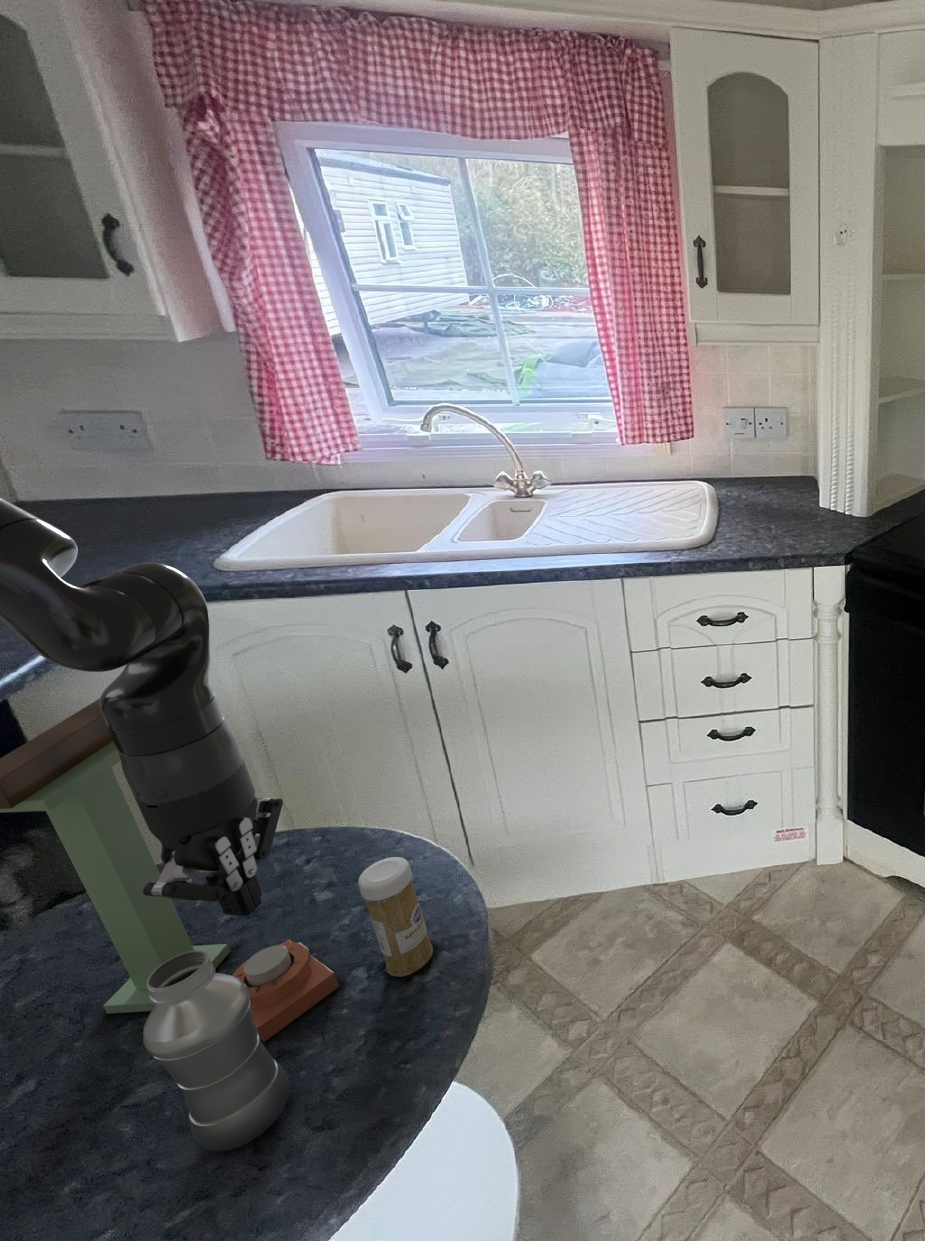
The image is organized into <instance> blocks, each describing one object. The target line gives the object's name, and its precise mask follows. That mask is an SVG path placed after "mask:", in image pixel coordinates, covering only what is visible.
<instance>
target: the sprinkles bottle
mask: <svg viewBox="0 0 925 1241" xmlns="http://www.w3.org/2000/svg"><path fill="white" fill-rule="evenodd" d="M412 878H413V873H412V869H411V866H410V862H409V861H408V860H407V859H406V858H404V857H400V856H391V857H386V858H383V859H381V860H377V861H376V862H374V863H372V864H371V865H369V866H368V867H367V868H365V869H364V870H363V872H362V873H361V874H360V876H359V877H358V879H357V880H358V881H357V884H358V889H359V892H360V895H361V897H362V898H363V900H364V901H365V904H366V907H367V910H368V913H369V919H370V922H371V925H372V928H373V930H374V934H375V937H376V939H377V940H376V941H377V943H378V946H379V949H380V952H381V953H382V955H383V958H384V962H385V966H386V967H385V968H386V972H387V973H388V975H390V976H392V977H398V978H399V977H401V978H402V977H406V976H410V975H411V974H414V973H415V972H418V971H420V970H421V969H422V968H424V966H425V965H426V964H427V963H428V962H429V961H430V960H431V958H432V957H433V954H434V948H433V945H432V943H431V941H430V937H429V935H428V931H427V930H428V929H427V925H426V921H425V918H424V915H423V911H422V909H421V906H420V903H419V899H418V896H417V893H416V890H415V887H414V884H413V880H412Z"/></svg>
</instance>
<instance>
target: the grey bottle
mask: <svg viewBox="0 0 925 1241" xmlns="http://www.w3.org/2000/svg"><path fill="white" fill-rule="evenodd" d="M147 989H148V991H149V993H150V1000H151V1002H152V1004H153V1005H155V1006H154V1008H153V1009H152V1011H150V1012H149V1015H148V1017H147V1018H146V1020H145V1022H144V1025H143V1032H142V1033H143V1035H142V1043H143V1046H144V1048H145V1049H146V1051H147V1052H148V1053H149V1055H151V1056H152V1057H153V1058H154V1059H155V1060H156V1061H157V1062H158V1063H159V1064H160V1065H161V1066H162V1067H164V1069H165V1070H166V1071H168V1073H169V1075H170V1076H171V1077H172V1079H173V1081H174V1082H175V1083H176V1084H177V1086H178V1088H179V1089H180V1090H181V1093H182V1095H183V1098H184V1101H185V1104H186V1107H187V1110H188V1117H189V1118H188V1119H189V1126H190V1130H191V1134H192V1137H193V1139H194V1140H195V1141H196V1143H198V1144H199V1145H200V1146H202V1147H203V1148H204V1149H206V1150H208V1151H211V1152H223V1151H228V1150H229V1151H230V1150H234V1149H237V1148H240V1147H242V1146H244V1145H247V1144H248V1143H251V1142H252V1141H254V1140H255V1139H257V1138H258V1137H259V1136H261V1135H263V1134H264V1133H265V1132H266V1131H267V1130H268V1129H269V1128H270V1127H272V1126H273V1124H275V1122H276V1121H277V1120H278V1118H279V1117H280V1115H281V1114H282V1113H283V1111H284V1109H285V1108H286V1106H287V1103H288V1101H289V1099H290V1094H291V1089H290V1088H291V1087H290V1079H289V1074H288V1073H287V1071H286V1070H285V1069H284V1067H283V1066H282V1065H281V1064H280V1063H279V1062H278V1061H276V1059H274V1058H273V1057H272V1055H271V1054H270V1052H269V1051H268V1050H267V1048H266V1046H265V1045H264V1043H263V1041H262V1040H261V1039H260V1037H259V1035H258V1031H257V1029H256V1026H255V1023H254V1020H253V1014H252V1008H251V1001H250V995H249V992H248V989H247V986H246V985H245V984H244V983H243V982H242V981H240V980H239V979H237V978H236V977H234V976H232V975H230V974H226V973H220V972H216V969H215V967H214V965H213V963H211V962H210V960H209V957H208V955H207V954H206V953H205V952H204V951H199V950H195V951H189V952H185V953H182V954H179V955H177V956H175V957H173V958H171V959H169V960H167V961H166V962H164V963H163V964H161V965H160V966H159V967H157V968H156V969H155V970H154V971H153V972H152V973H151V974H150V976H149V977H148V979H147Z"/></svg>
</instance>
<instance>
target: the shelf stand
mask: <svg viewBox="0 0 925 1241" xmlns="http://www.w3.org/2000/svg"><path fill="white" fill-rule="evenodd" d="M119 762H121V760H120V755H119V752H118V750H117V748H116V745H115V743H114V741H111V742H110V743H108V744H107V745H105V746H104V747H102V748H101V749H99V750H98V751H96V752H95V753H94V754H92V755H91V756H89V757H88V758H86V759H85V760H83V761H82V762H80V763H79V764H77V765H76V766H74V767H73V768H71V769H70V770H68V771H67V772H65V773H64V774H62V775H61V776H59V777H58V778H56V779H55V780H53V781H52V782H50V783H49V784H47V785H46V786H45V787H43V788H42V789H40V790H39V791H37V792H36V793H34V794H33V795H31V796H30V797H28V798H27V799H25V800H24V801H22V802H21V803H19V804H18V805H16V806H15V807H13V808H11V809H0V813H22V812H23V813H24V812H46V814H47V816H48V818H49V820H50V822H51V824H52V826H53V829H54V830H55V833H56V834H57V836H58V838H59V840H60V842H61V844H62V846H63V847H64V849H65V852H66V853H67V855H68V857H69V859H70V861H71V863H72V865H73V868H74V869H75V872H76V873H77V875H78V878H79V879H80V881H81V883H82V885H83V887H84V889H85V891H86V893H87V895H88V897H89V899H90V901H91V903H92V904H93V906H94V909H95V911H96V912H97V915H98V916H99V918H100V920H101V922H102V925H103V926H104V928H105V930H106V932H107V935H108V936H109V938H110V940H111V942H112V945H113V946H114V948H115V950H116V952H117V954H118V957H119V958H120V960H121V962H122V964H123V966H124V967H125V970H126V971H127V974H128V976H129V979H128V980H127V981H126V982H125V983H124V984H123V985H122V986H121V987H120V988H119V989H118V990H117V991H116V992H115V993H114V994H113V995H112V996H111V997H110V998H109V999H108V1000H107V1001H106V1002H105V1003H104V1004H103V1005H102V1007H103V1009H104V1011H105V1012H106V1014H108V1015H110V1014H124V1013H125V1014H126V1013H127V1014H128V1013H141V1012H151V1011H152V1009H153V1008H154V1006H155V1005H153V1004H152V1002H151V1000H150V993H149V991H148V989H147V979H148V977H149V976H150V974H151V973H152V972H153V971H154V970H155V969H156V968H157V967H159V966H160V965H161V964H163V963H164V962H166V961H167V960H169V959H171V958H173V957H175V956H177V955H179V954H182V953H185V952H189V951H195V950H199V951H204V952H205V953H206V954H207V955H208V957H209V960H210V962H211V963H213V965H214V967H215V970H216V969H217V968H218V967H219V965H221V963H222V962H223V961H224V959H225V958H226V957H227V956H228V955H229V954H230V953H231V949H230V946H229V944H228V943H223V944H222V943H220V944H219V943H218V944H203V945H193V944H192V942H191V939H190V937H189V935H188V933H187V930H186V929H185V926H184V924H183V922H182V919H181V917H180V915H179V913H178V911H177V909H176V906H175V904H174V902H173V900H172V898H165V897H155V896H146V895H144V894H143V889H144V887H145V886H146V885H147V884H148V883H149V882H151V881H157V880H158V879H159V877H160V875H161V872H160V871H159V869H158V867H157V865H156V862H155V861H154V858H153V856H152V853H151V852H150V849H149V847H148V845H147V842H146V841H145V838H144V835H143V834H142V832H141V829H140V827H139V826H138V822H137V821H136V818H135V816H134V813H133V812H132V809H131V807H130V805H129V803H128V801H127V798H126V796H125V794H124V792H123V790H122V788H121V785H120V783H119V781H118V779H117V776H116V774H115V772H114V770H113V767H114V766H115V765H116V764H118V763H119Z"/></svg>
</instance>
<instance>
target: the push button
mask: <svg viewBox="0 0 925 1241" xmlns="http://www.w3.org/2000/svg"><path fill="white" fill-rule="evenodd" d="M248 959H249V960H248ZM248 959H247V960H248V961H247V960H246V961H247V962H246V963H245V965H244V968H243V971H244V974H245V976H246V979H247V981H248V983H249V984H250V985H251V986H254V987H260V986H263V985H266V984H268V983H271V982H274V981H275V980H277V979H278V978H280V977H281V976H283V975H284V974H286V973H287V971H288V970H289V969H290V967H291V964H292V960H291V958H290V955H289V952H288V950H287V948H286V947H284V946H281V945H279V944H276V945H271V946H268V947H266V948H263V949H260V950H259V951H258V952H257V951H256V953H254V954H253V955H252V956H250V958H248Z"/></svg>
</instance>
